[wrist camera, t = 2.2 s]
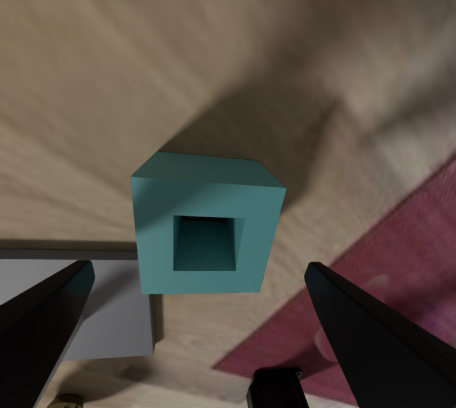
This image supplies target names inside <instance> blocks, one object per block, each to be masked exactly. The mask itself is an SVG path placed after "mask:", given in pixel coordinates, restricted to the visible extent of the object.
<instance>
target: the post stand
mask: <svg viewBox="0 0 456 408" xmlns="http://www.w3.org/2000/svg"><path fill="white" fill-rule="evenodd" d="M77 260H91V261H92V264H93V268H94V273H95V281H94V284H93V287H92V289H91V292H90V294H89V297H88V299H87V301H86V304H85V306H84V309H83V311H82V314H81V316H80V319H79V321H78V323H77V325H76V327H75V329H74V331H73V333H72V335H71V337H70V339H69V341H68V342H67V344H66V346H65V348H64V350H63V352H62V354H61V356H60V358H59V360H58V361H57V363H56V365H55V367H54V369H53V371H52V373H51V375H50V377H49V378H48V380H47V382H46V384H45V386H44V388H43V390H42V392H41V394H40V395H39V397H38V399H37V401H36V403H35V405H34V407H33V408H36V406H37V405H38V403H39V401H40V399H41V397H42V396H43V394H44V392H45V390H46V388H47V387H48V385H49V383H50V381H51V379H52V378H53V376H54V374H55V372H56V370H57V368H58V367H59V365H60V363H61V361H71V360H86V359H102V358H117V357H132V356H148V355H153V354H154V349H155V330H154V315H153V299H152V294H142V293H141V283H140V272H139V262H138V252H137V251H89V250H24V249H0V305H1V304H3V303H5V302H7V301H8V300H10V299H12V298H13V297H15V296H17V295H19V294H20V293H22V292H24V291H25V290H27V289H29V288H31V287H32V286H34V285H36V284H37V283H39V282H41V281H43V280H44V279H46V278H48V277H50V276H51V275H53V274H55V273H56V272H58V271H60V270H62V269H63V268H65V267H67V266H68V265H70V264H72V263H74V262H75V261H77Z"/></svg>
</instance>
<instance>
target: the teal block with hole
mask: <svg viewBox="0 0 456 408" xmlns="http://www.w3.org/2000/svg"><path fill="white" fill-rule="evenodd" d="M130 179H131V190H132V200H133V210H134V221H135V231H136V241H137V252H138V262H139V272H140V283H141V293H142V294H181V293H237V292H259V291H260V288H261V284H262V280H263V276H264V272H265V269H266V265H267V261H268V257H269V253H270V250H271V246H272V242H273V238H274V234H275V231H276V227H277V223H278V219H279V215H280V211H281V208H282V204H283V200H284V196H285V192H286V189H287V188H286V187H285V186H284V185H283V184H282V183H281V182H280V181H279V180H277V179H276V178H275V177H274V176H273V175H272V174H271V173H270V172H269V171H268V170H267V169H266V168H265V167H264V166H263V165H261V164H260V163H259V162H258V161H255V160H244V159H234V158H223V157H212V156H202V155H191V154H180V153H169V152H159V151H157V152H156V153H155V154H153V155H152V156H151V157H150V158H149V159H148V160H147V161H146V162H145V163H144V164H143V165H142V166H141V167H140V168H139V169H138V170H137V171H136V172H135V173H134V174H133V175H132V176H131V177H130ZM182 216H203V217H226V222H214V221H189V220H182Z"/></svg>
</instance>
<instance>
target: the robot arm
mask: <svg viewBox="0 0 456 408" xmlns="http://www.w3.org/2000/svg"><path fill="white" fill-rule="evenodd" d="M304 279H305V283H306V286H307V289H308V291H309V294H310V297H311V300H312V303H313V306H314V309H315V311H316V314H317V316H318V318H319V321H320V323H321V325H322V327H323V329H324V332H325V334H326V336H327V338H328V340H329V343H330V345H331V347H332V349H333V351H334V353H335V356H336V358H337V360H338V362H339V364H340V367H341V369H342V371H343V373H344V375H345V378H346V380H347V382H348V384H349V386H350V388H351V391H352V393H353V395H354V397H355V399H356V402H357V404H358V406H359V408H456V349H455V348H454V347H452V346H450V345H448V344H447V343H445V342H444V341H442V340H441V339H439V338H437V337H436V336H434V335H433V334H431V333H429V332H428V331H426V330H425V329H423V328H422V327H420V326H418V325H417V324H415V323H414V322H411V321H410V320H409V319H408V318H406V317H404V316H403V315H401V314H400V313H398V312H397V311H395V310H393V309H392V308H390V307H389V306H387V305H386V304H384V303H383V302H381V301H379V300H378V299H376V298H375V297H373V296H372V295H370V294H369V293H367V292H365V291H364V290H362V289H361V288H359V287H358V286H356V285H355V284H353V283H351V282H350V281H348V280H347V279H345V278H344V277H342V276H341V275H339V274H337V273H336V272H334V271H333V270H331V269H330V268H328V267H327V266H325V265H323V264H322V263H320V262H310V263H309V264H308V267H307V270H306V272H305V275H304ZM94 281H95V273H94V268H93V264H92V261H91V260H77V261H75V262H74V263H72V264H70V265H68V266H67V267H65V268H63V269H62V270H60V271H58V272H56V273H55V274H53V275H51V276H50V277H48V278H46V279H44V280H43V281H41V282H39V283H37V284H36V285H34V286H32V287H31V288H29V289H27V290H25V291H24V292H22V293H20V294H19V295H17V296H15V297H13V298H12V299H10V300H8V301H7V302H5V303H3V304H1V305H0V408H33V407H34V405H35V403H36V401H37V399H38V397H39V395H40V394H41V392H42V390H43V388H44V386H45V384H46V382H47V380H48V378H49V377H50V375H51V373H52V371H53V369H54V367H55V365H56V363H57V361H58V360H59V358H60V356H61V354H62V352H63V350H64V348H65V346H66V344H67V342H68V341H69V339H70V337H71V335H72V333H73V331H74V329H75V327H76V325H77V323H78V321H79V319H80V316H81V314H82V311H83V309H84V306H85V304H86V301H87V299H88V297H89V294H90V292H91V289H92V287H93V284H94ZM301 376H302V370H301V369H287V370H275V371H264V372H256V373H254V375H253V378H252V381H251V384H250V386H249V389H248V392H247V395H246V398H247V405H248V408H309V406H308V403H307V400H306V398H305V395H304V392H303V389H302V387H301V384H300V381H299V379H300V378H301Z"/></svg>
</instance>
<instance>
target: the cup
mask: <svg viewBox="0 0 456 408" xmlns="http://www.w3.org/2000/svg"><path fill="white" fill-rule="evenodd" d="M83 406H84V402H83V400H82V399H81V398H79V397H77V396H73V395H65V396H60V397H57V398H55V399H54V400H53V401H52V402H51V403H50V404H49V405H48V406H47V408H83Z"/></svg>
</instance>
